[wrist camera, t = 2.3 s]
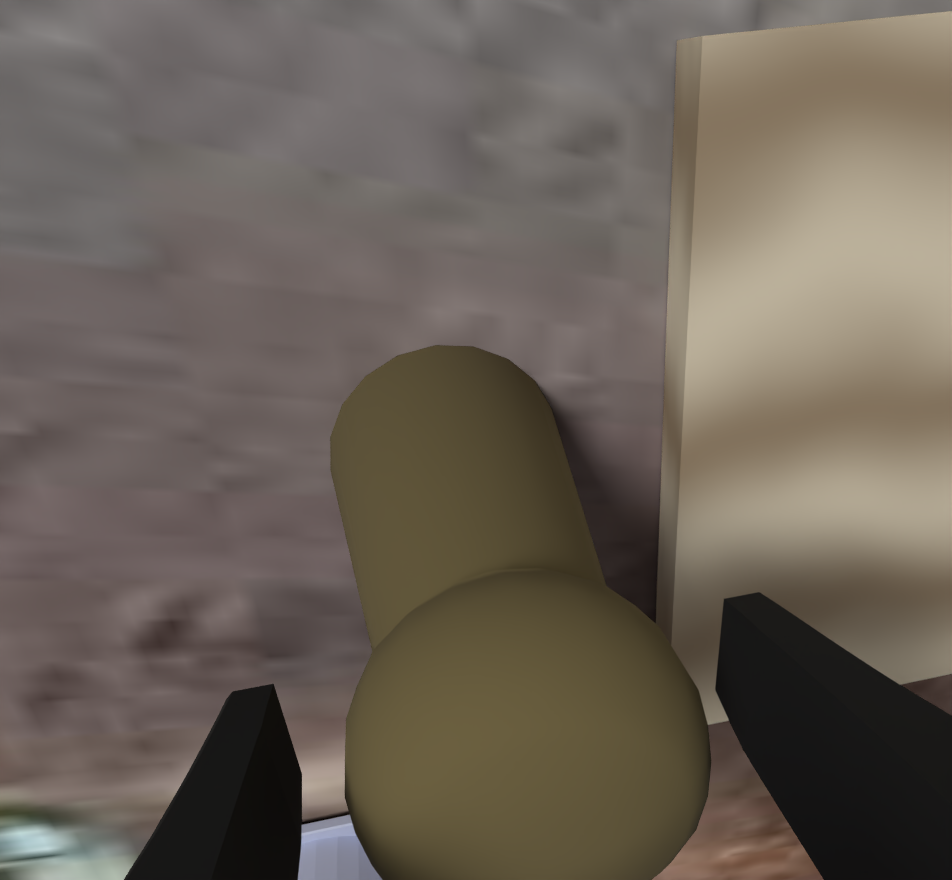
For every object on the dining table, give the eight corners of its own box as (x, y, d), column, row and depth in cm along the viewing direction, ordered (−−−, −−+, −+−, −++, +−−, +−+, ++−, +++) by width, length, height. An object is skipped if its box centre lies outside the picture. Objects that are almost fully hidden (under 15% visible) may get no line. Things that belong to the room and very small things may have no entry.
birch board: (1017, 630, 25) (1046, 654, 24) (652, 705, 24) (666, 733, 23) (1246, -17, 16) (1308, -25, 15) (676, 40, 15) (702, 35, 14)
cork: (348, 563, 19) (346, 1041, 9) (309, 360, 16) (253, 740, 7) (558, 531, 20) (757, 946, 10) (555, 331, 17) (825, 638, 7)
